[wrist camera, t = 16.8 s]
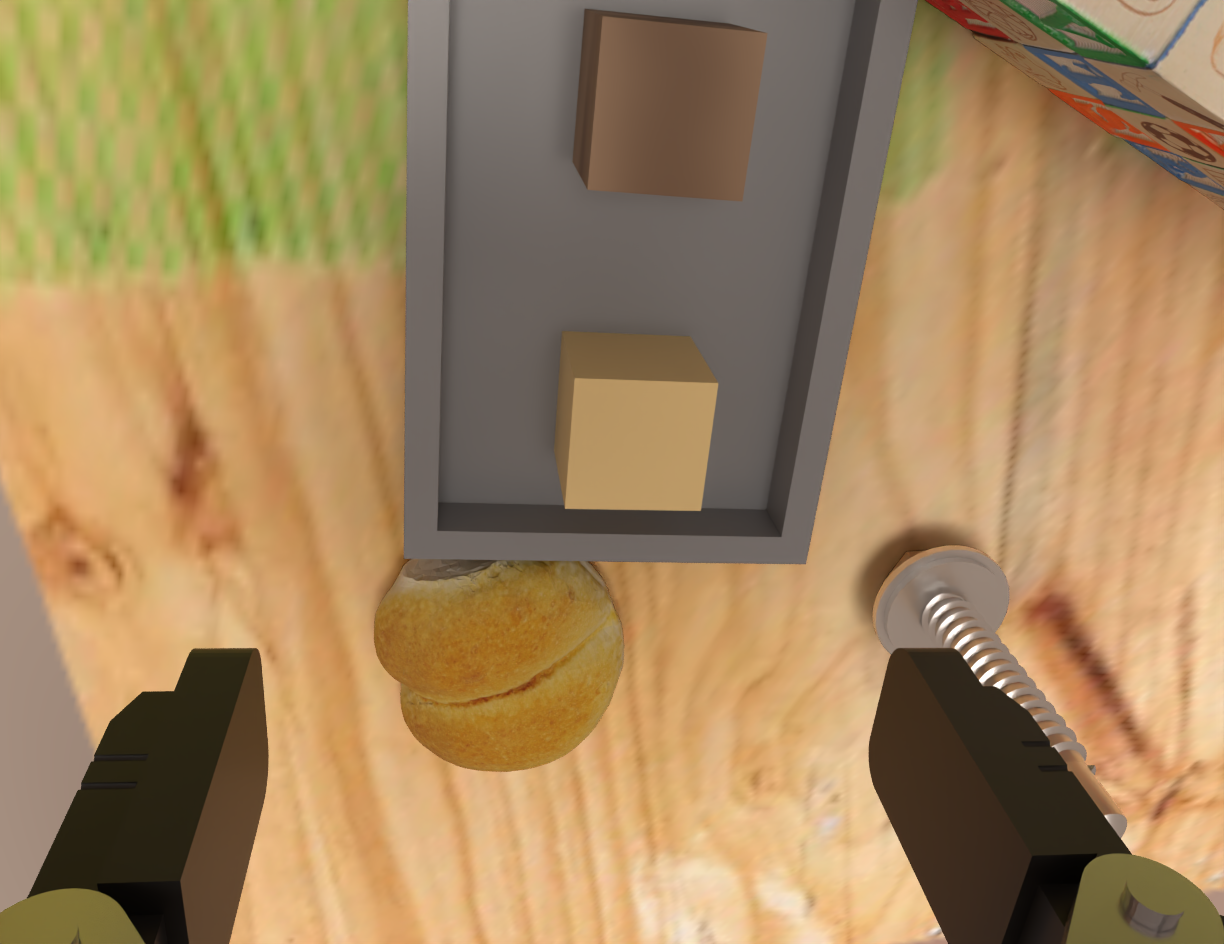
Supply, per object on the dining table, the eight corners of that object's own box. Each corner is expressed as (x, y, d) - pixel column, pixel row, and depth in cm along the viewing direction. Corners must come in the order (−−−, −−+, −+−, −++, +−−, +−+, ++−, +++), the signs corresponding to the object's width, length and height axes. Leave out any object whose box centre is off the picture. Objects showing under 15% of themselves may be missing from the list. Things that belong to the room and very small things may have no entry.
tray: (898, -83, 29) (935, -86, 26) (784, 527, 37) (805, 563, 35) (413, -138, 27) (409, -147, 24) (407, 519, 35) (404, 558, 33)
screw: (885, 653, 40) (835, 562, 38) (1000, 593, 39) (956, 497, 37) (1058, 939, 28) (1000, 830, 26) (1225, 859, 28) (1180, 741, 26)
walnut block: (729, 23, 29) (767, 33, 25) (709, 172, 30) (742, 201, 27) (584, 8, 28) (602, 15, 24) (572, 162, 30) (587, 189, 26)
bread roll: (431, 756, 40) (428, 835, 36) (351, 560, 35) (338, 627, 32) (643, 699, 40) (661, 773, 36) (587, 497, 36) (601, 557, 32)
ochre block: (690, 336, 33) (718, 382, 29) (675, 453, 34) (700, 510, 31) (562, 331, 32) (574, 378, 28) (553, 450, 34) (564, 508, 30)
